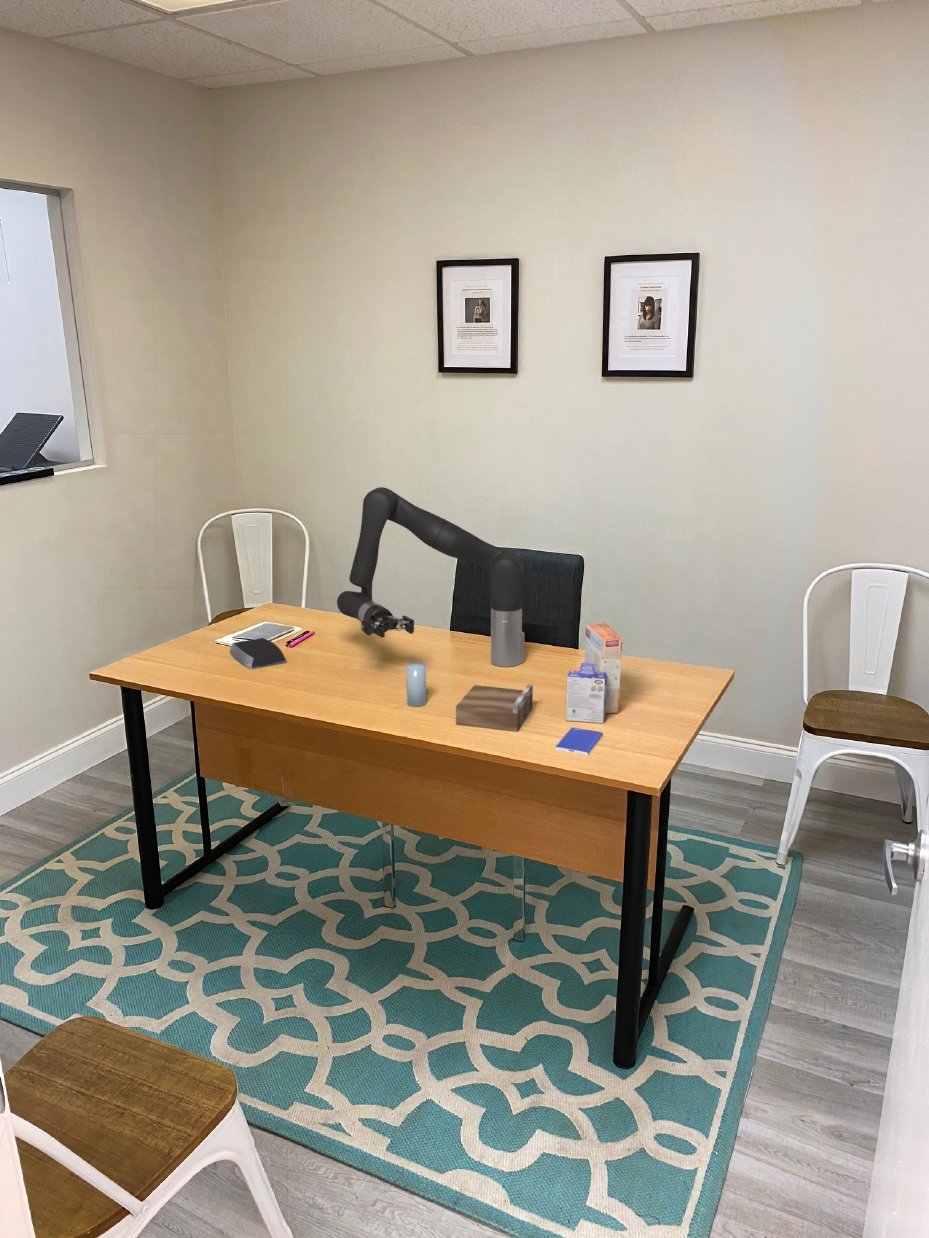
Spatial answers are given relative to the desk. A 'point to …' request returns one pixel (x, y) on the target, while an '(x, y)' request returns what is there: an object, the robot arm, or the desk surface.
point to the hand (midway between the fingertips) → (397, 632)
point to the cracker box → (605, 659)
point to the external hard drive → (257, 653)
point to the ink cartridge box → (586, 695)
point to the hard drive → (579, 741)
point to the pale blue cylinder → (416, 684)
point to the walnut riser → (495, 707)
